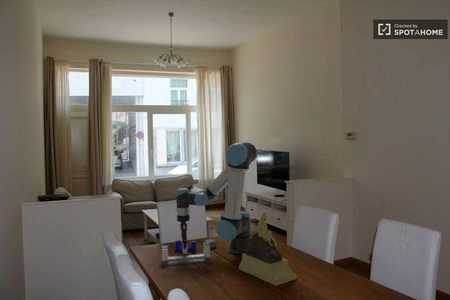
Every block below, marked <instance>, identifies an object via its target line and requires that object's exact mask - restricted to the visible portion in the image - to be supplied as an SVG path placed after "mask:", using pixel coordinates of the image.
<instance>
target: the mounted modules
mask: <svg viewBox="0 0 450 300" xmlns="http://www.w3.org/2000/svg"><path fill="white" fill-rule="evenodd" d="M202 246H203V247H202V248H203V250H202V251H203V254H204V256H205V257H210V258H211V248H210V244H209V242H206V243H205V242H202ZM161 253H162V254H161V255H162V256H161V258H162V262H163V261H165V260H168V257H169V249H168V245H162V246H161Z"/></svg>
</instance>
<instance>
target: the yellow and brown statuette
mask: <svg viewBox="0 0 450 300" xmlns="http://www.w3.org/2000/svg"><path fill="white" fill-rule="evenodd" d="M267 217H268V216H267V214H264V213H263V214H261V217H260V219H259V220H258V222H257V231H256V232H255V233H253V235H251V240H250V242H249V243H248V244H247V248H246V253H243V254H241V257H242V258H241V262H240V264H239V265H238V269H239V270H241V271H242V272H245V273H247V274H249V275H251V276H254V277H256V278H258V279H261V280H263V281H265V282H267V283H269V284H270V285H271V284H272V285H273V286H275V287H276V286H279V285H283V284H285V283H288V282H291V281H294V280H298V279H297V274H295V272H294V271H293V270H292V269H291V268H290V266H289V261H288V259H286V258H283V255H282V253H281V252H280V251H279V250H278V245H277V241H276V238H275V237H274V236H273V235H272V231H271V230H268V224H267V223H268V222H267Z"/></svg>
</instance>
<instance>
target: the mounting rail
mask: <svg viewBox="0 0 450 300" xmlns="http://www.w3.org/2000/svg"><path fill="white" fill-rule="evenodd" d="M210 262H212V260H211V256H210V257H205V256H204V253H196V254H195V253H194V254H182V255H174V256H173V255H172V256H168V260H165V261H162V267H163V266H177V265H178V266H179V265H188V264H199V263H200V264H201V263H210Z"/></svg>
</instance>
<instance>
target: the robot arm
mask: <svg viewBox="0 0 450 300" xmlns="http://www.w3.org/2000/svg"><path fill="white" fill-rule="evenodd" d="M257 155H258V150H257V148H256V146H255V145H254V144H253V143H251V142H236V143H233V144H231V145H230V146H228V147H227V149H226V152H225V159H226V161H227V166H226V167H225V168H224V169H223V170H222V171H221V172H220V174H218V175H217V177H216V178H215V179H213V181H212V182H211V183H209V185H208V186H207V187H206V188H205V189H204V190H200V191H197V192H195V191H193V192H192V191H191V192H190V190H189V189H188V188H187V187H181V188H177V189H176V191H175V201H176V209H175V211H176V221H177V222H179V223H180V225H179V227H180V233H181V234H180V235H181V236H180V237H181V241H180V242H181V244H182V246H183V252H182V255H188V251H187V248H188V236H187V232H188V223H186V222H190V221H191V218H190V214H191V212H190V206H199V207H204V206H206V205H207V204H208V203H209V202H210V203H211V202H213V201H214V200H216V199H217V197H218V195H219V193H220V192H222V190H223V189H224V188H226V189H227V191H226V196H225V197H226V198H225V205H224V211H223V212H222V213H221V214H220V219H219V221H218V223H217V224H216V226H215V229H216V234H217V235H218V237H219V238H220V239H221V240H223V241H229V245H228V252H229V253H230V254H234V255H242V254H243V253H246V248H247V244H248V243H249V242H250V240H251V238H252V234H251V233H252V229H251V228H252V227H251V226H252V225H251V214H250V213H249V212H247V211H241V207H242V206H241V205H242V199H243V192H244V184H245V177H246V171H248V170H249V169H250V165H251V164H252V163H253V162H254V161H255V160H256V158H257Z"/></svg>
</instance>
